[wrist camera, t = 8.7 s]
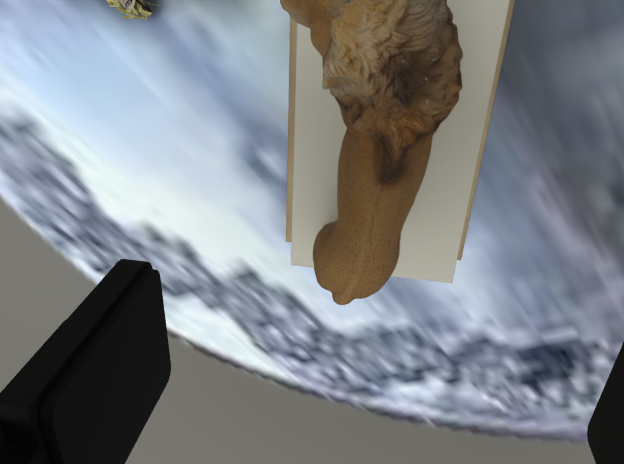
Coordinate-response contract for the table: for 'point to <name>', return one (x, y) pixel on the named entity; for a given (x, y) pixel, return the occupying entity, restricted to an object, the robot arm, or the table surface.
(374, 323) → the table surface
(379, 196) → the lion figurine
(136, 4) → the figurine
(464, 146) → the cream brick
